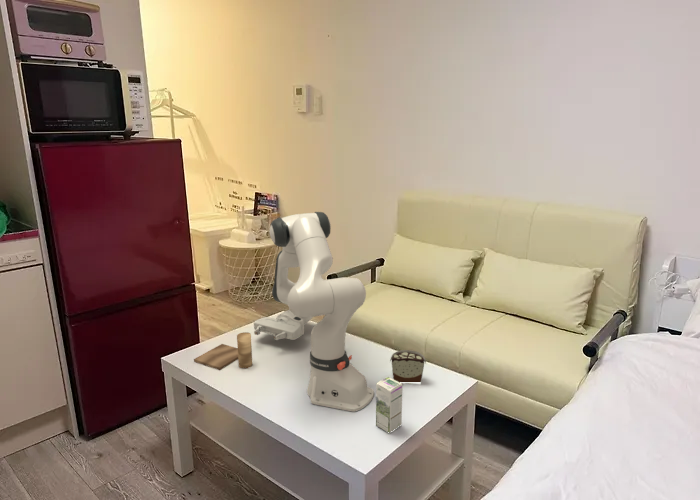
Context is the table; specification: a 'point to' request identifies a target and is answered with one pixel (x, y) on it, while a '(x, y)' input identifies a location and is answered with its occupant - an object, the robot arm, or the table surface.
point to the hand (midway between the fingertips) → (265, 335)
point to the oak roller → (244, 350)
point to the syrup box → (388, 404)
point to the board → (218, 357)
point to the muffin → (407, 366)
